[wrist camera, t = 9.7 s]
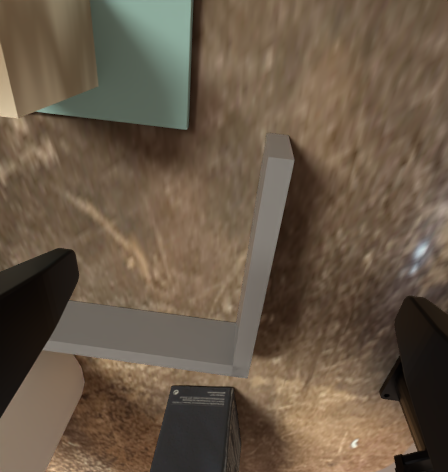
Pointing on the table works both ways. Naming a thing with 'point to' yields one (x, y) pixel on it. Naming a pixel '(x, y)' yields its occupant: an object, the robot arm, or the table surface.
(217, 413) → the small box
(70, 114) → the teal mat
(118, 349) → the grey l-shaped bracket
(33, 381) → the cylinder
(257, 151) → the table surface
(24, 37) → the cream block
